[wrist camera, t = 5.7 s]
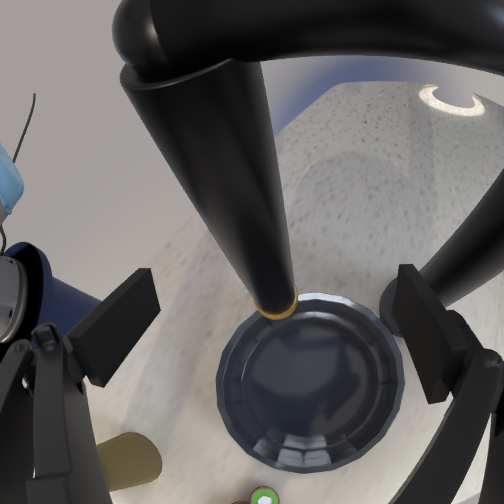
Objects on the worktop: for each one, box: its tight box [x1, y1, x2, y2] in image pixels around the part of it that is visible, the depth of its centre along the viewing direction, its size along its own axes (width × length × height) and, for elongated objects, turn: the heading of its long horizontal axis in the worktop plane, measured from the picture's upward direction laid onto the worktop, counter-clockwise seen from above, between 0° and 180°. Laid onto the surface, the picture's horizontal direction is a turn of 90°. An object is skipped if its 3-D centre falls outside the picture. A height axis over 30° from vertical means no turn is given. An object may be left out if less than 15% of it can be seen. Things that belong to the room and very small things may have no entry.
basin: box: [216, 292, 405, 474], centre depth 22 cm, size 14×14×5 cm
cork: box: [96, 432, 162, 492], centre depth 18 cm, size 6×6×11 cm
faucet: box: [380, 169, 504, 338], centre depth 14 cm, size 6×6×23 cm
